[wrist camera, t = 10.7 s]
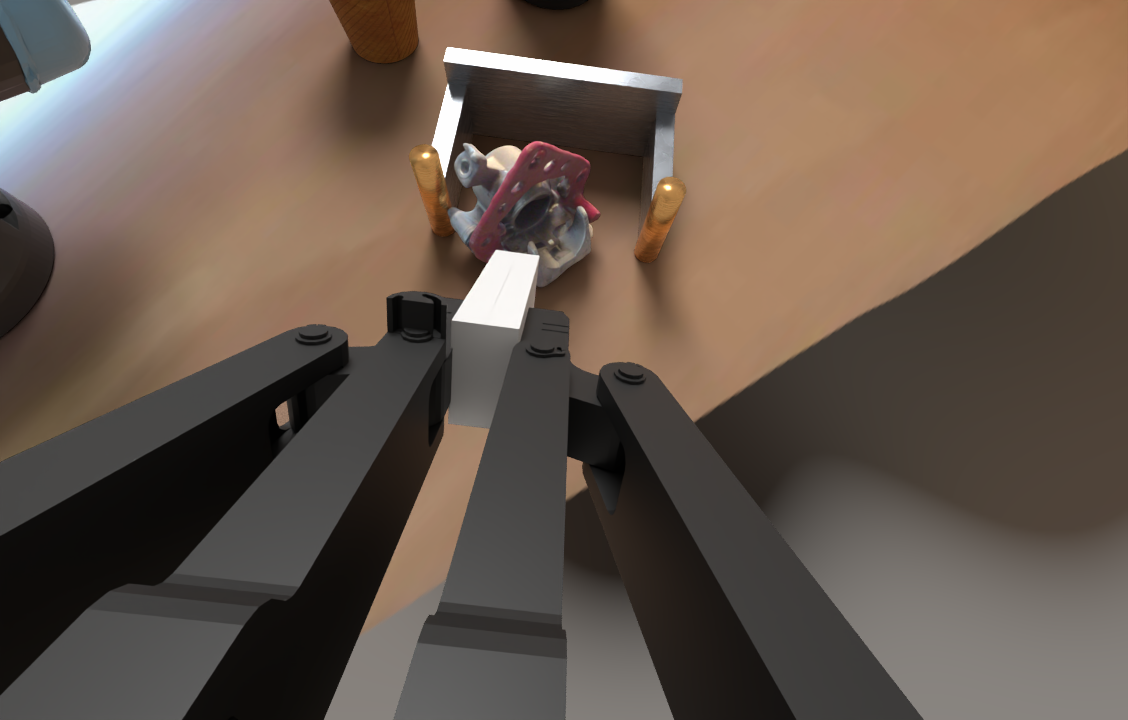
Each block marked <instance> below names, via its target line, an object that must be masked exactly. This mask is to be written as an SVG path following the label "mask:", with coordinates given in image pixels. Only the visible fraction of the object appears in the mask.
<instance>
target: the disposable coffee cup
mask: <svg viewBox="0 0 1128 720" xmlns="http://www.w3.org/2000/svg"><path fill="white" fill-rule="evenodd" d="M329 1H330V3H331V5H332V7H333V8H334V11H335V13H336V14H337V17H338V18H339V20H340V23H341V24H342V26H343V28H344V30H345V32H346V34H347V36H348V38H349V40H350V42H351V44H352V46H353V48H354V50H355V51H356V53H357V54H358V55H360V56H361V57H362V58H364V59H366V60H369V61H371V62H376V63H392V62H396V61H399V60H402V59H404V58H406V57H407V56H409V55H410V54H411V53H412V52H413V51H414V50H415V49H416V47H417V44H418V30H417V20H416V9H415V0H329Z"/></svg>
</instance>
